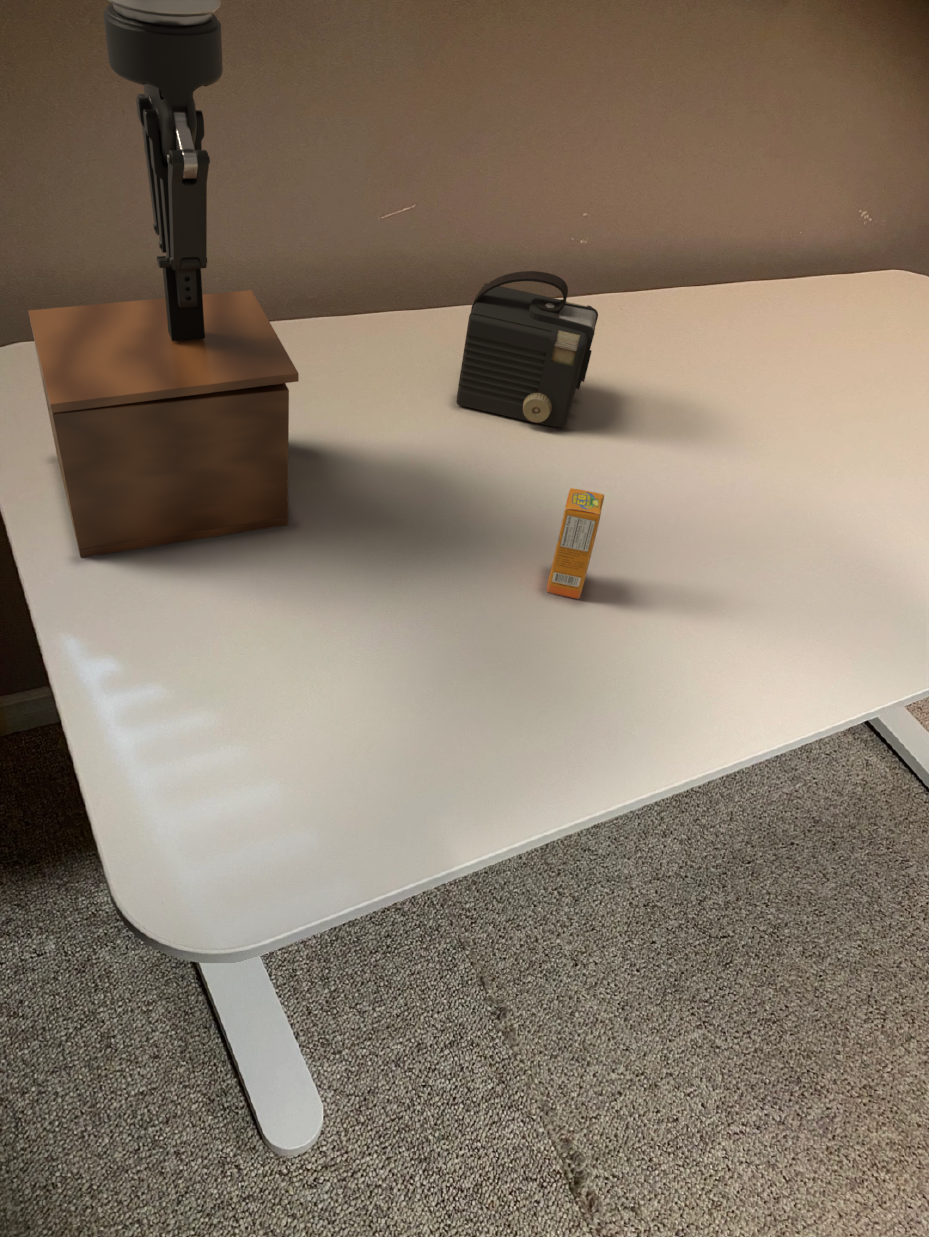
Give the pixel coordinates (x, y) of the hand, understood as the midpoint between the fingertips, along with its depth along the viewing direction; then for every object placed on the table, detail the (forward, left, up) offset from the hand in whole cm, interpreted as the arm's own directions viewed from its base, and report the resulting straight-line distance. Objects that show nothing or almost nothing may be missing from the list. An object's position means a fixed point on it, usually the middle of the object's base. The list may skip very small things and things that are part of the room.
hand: (186, 335), depth 78 cm
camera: (+38, +8, -16) cm, 42 cm away
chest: (-3, 0, -16) cm, 16 cm away
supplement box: (+28, -22, -16) cm, 39 cm away
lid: (-2, 0, -1) cm, 2 cm away
